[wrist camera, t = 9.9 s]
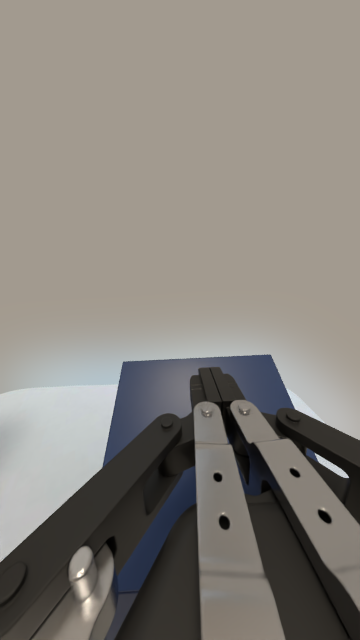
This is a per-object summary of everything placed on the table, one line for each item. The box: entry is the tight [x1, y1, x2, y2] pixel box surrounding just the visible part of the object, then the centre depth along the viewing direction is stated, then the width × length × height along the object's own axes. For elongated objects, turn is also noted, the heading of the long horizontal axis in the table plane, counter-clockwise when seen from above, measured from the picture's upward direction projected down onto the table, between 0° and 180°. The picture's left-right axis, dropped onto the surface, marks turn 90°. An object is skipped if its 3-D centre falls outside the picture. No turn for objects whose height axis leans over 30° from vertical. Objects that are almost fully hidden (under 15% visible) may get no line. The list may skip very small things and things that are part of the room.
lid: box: [103, 355, 319, 592], centre depth 15 cm, size 14×17×1 cm
